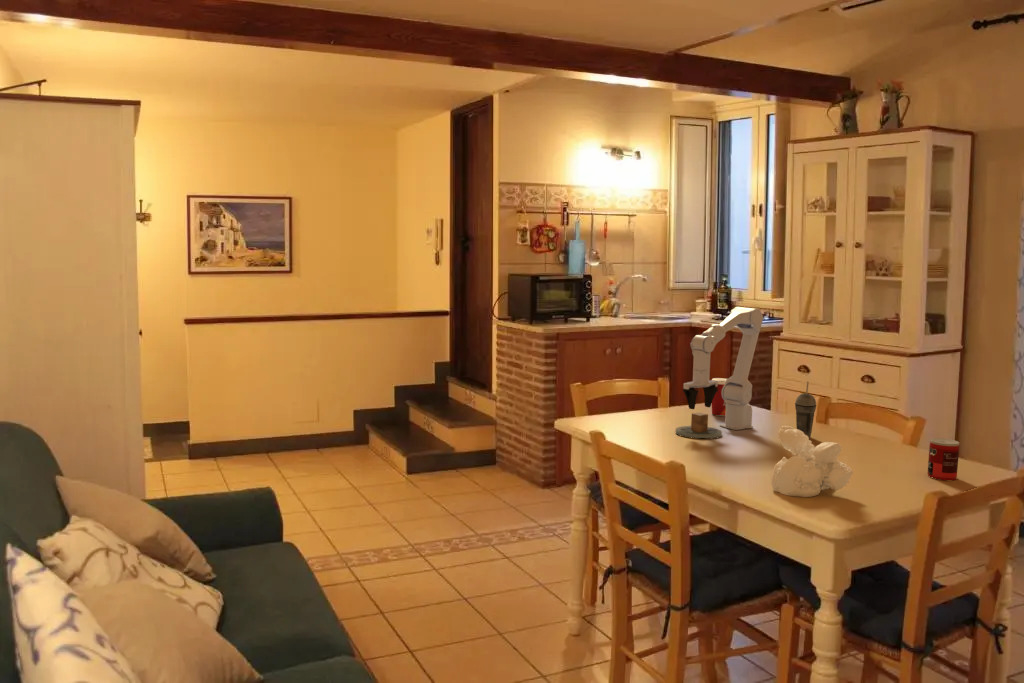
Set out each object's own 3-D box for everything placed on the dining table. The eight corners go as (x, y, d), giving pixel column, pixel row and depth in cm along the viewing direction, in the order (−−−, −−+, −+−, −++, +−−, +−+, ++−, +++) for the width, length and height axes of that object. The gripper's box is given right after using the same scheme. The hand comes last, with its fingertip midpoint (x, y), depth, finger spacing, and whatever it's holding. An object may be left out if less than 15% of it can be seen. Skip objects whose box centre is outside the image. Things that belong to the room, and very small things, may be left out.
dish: (699, 427, 332) (699, 424, 332) (731, 436, 319) (731, 432, 318) (666, 431, 323) (666, 428, 323) (697, 440, 310) (697, 437, 310)
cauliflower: (748, 458, 250) (792, 414, 258) (768, 510, 259) (809, 467, 267) (805, 477, 235) (850, 430, 243) (824, 532, 244) (866, 486, 252)
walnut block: (699, 429, 323) (700, 412, 323) (707, 431, 320) (708, 414, 319) (691, 430, 321) (691, 413, 320) (699, 432, 318) (699, 415, 317)
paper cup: (731, 416, 352) (732, 381, 351) (711, 416, 353) (712, 380, 351) (726, 412, 360) (728, 377, 359) (707, 412, 360) (708, 377, 359)
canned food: (931, 472, 275) (933, 436, 273) (959, 477, 270) (962, 441, 268) (923, 477, 269) (926, 440, 267) (953, 482, 264) (956, 445, 262)
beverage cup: (812, 435, 323) (815, 379, 320) (816, 439, 315) (820, 383, 313) (790, 434, 323) (794, 378, 321) (795, 439, 316) (798, 382, 314)
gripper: (694, 372, 311) (692, 411, 313) (724, 369, 319) (722, 408, 320) (679, 369, 317) (678, 408, 319) (710, 367, 325) (708, 404, 326)
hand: (699, 407), depth 320 cm, fingers open, 7 cm apart
